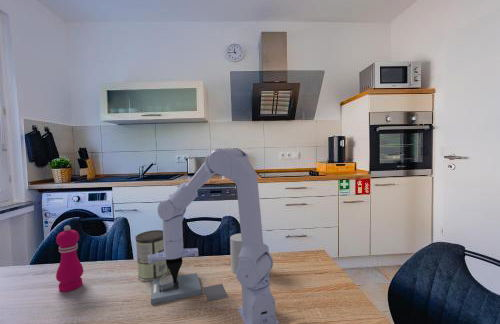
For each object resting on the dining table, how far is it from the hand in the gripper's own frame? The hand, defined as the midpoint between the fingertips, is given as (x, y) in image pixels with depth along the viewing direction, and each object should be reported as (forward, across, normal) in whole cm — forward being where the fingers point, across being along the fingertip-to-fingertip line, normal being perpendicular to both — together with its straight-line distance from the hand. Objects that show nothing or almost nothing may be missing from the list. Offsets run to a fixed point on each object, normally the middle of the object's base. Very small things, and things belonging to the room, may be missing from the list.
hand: (174, 281), depth 79 cm
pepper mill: (+3, +32, -15) cm, 35 cm away
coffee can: (+3, +7, -14) cm, 16 cm away
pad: (+3, -11, +6) cm, 13 cm away
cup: (+3, -23, -5) cm, 24 cm away
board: (+3, 0, 0) cm, 3 cm away
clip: (+1, +1, 0) cm, 1 cm away
